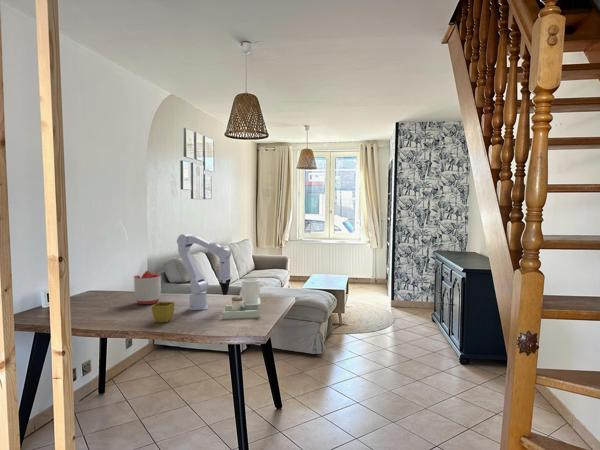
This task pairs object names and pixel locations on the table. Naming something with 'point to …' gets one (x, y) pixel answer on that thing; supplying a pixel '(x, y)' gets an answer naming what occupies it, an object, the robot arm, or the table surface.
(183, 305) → the table surface
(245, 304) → the plate
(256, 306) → the lane
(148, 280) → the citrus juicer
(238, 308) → the spice jar
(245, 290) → the jar
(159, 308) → the flower pot
